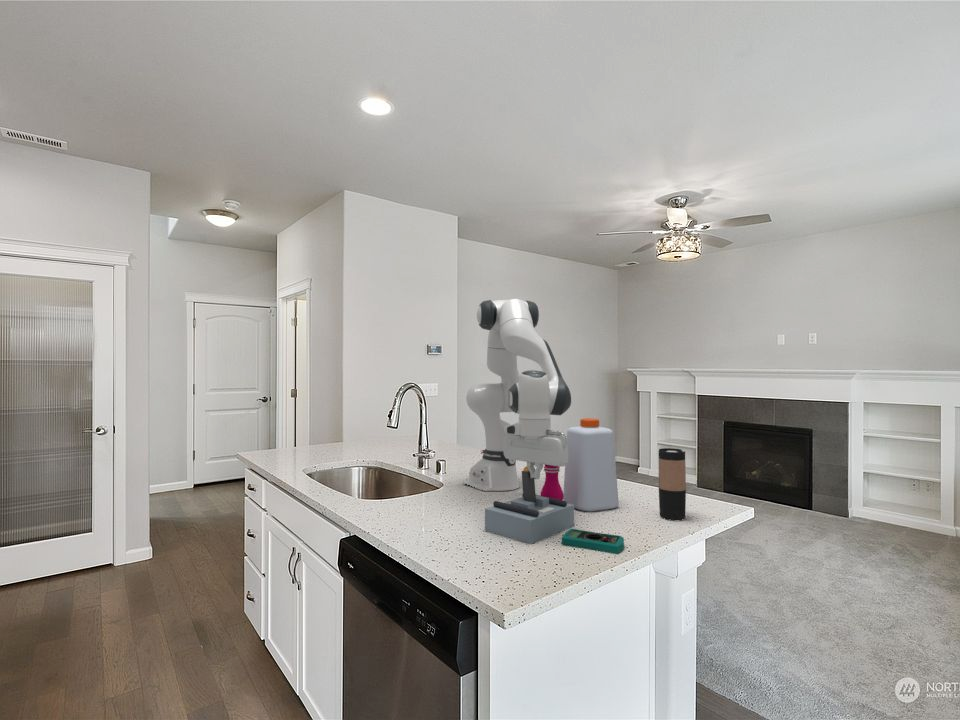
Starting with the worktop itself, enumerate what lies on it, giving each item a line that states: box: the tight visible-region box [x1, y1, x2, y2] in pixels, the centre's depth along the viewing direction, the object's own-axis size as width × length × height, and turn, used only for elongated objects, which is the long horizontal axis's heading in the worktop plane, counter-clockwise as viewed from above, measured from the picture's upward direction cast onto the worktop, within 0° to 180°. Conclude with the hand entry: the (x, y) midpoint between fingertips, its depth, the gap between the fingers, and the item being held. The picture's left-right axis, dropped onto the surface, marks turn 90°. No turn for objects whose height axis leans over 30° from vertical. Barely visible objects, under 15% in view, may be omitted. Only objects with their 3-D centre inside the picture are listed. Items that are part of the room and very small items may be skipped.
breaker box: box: [484, 494, 575, 545], centre depth 140 cm, size 16×20×8 cm
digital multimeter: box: [561, 528, 625, 555], centre depth 127 cm, size 7×15×3 cm, turn 63°
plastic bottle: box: [563, 417, 619, 512], centre depth 164 cm, size 15×15×28 cm
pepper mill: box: [540, 464, 564, 501], centre depth 158 cm, size 7×7×20 cm
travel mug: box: [658, 447, 687, 521], centre depth 150 cm, size 8×8×20 cm
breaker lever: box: [521, 465, 537, 505], centre depth 141 cm, size 2×3×11 cm
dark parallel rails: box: [492, 493, 567, 517], centre depth 140 cm, size 16×15×2 cm
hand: (535, 478), depth 139 cm, fingers closed
